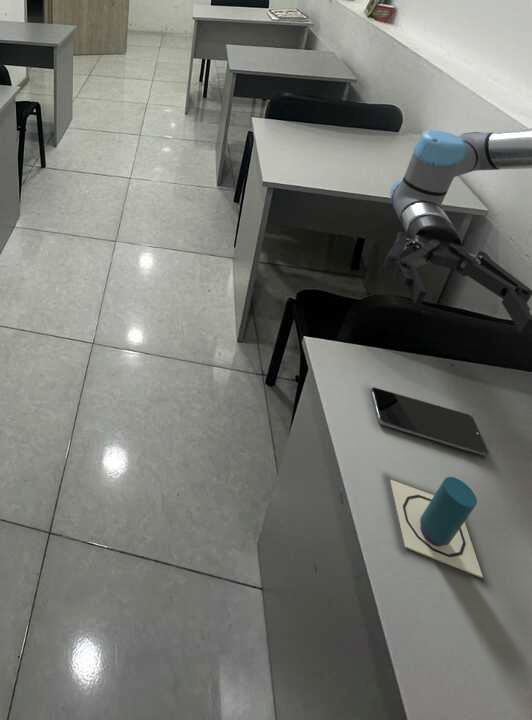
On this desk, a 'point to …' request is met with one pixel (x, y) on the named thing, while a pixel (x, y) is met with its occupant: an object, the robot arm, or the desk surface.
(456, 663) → the desk surface
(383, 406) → the smartphone
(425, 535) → the teal cylinder
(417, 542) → the drawing sheet
